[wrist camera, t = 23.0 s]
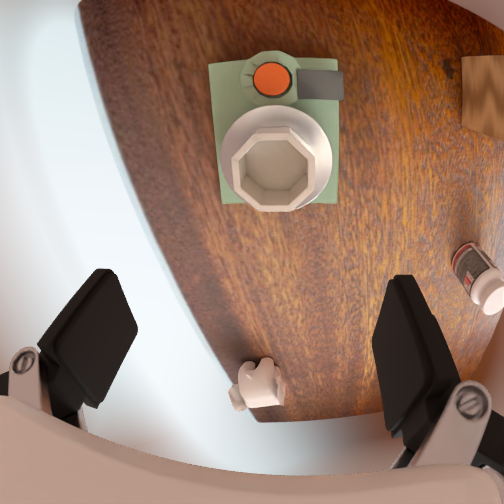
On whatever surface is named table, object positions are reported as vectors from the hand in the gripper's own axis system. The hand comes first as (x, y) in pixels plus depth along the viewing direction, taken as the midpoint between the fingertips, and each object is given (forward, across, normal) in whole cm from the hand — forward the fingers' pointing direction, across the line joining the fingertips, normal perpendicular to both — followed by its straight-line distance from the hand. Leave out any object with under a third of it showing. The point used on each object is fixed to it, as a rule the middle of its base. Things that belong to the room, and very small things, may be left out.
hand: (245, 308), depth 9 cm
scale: (+24, 0, -2) cm, 24 cm away
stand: (+24, -27, -10) cm, 38 cm away
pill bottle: (+24, -28, +14) cm, 40 cm away
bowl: (+20, 0, 0) cm, 20 cm away
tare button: (+22, 0, -8) cm, 23 cm away
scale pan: (+21, -1, -2) cm, 21 cm away
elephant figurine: (+24, +3, +38) cm, 46 cm away
